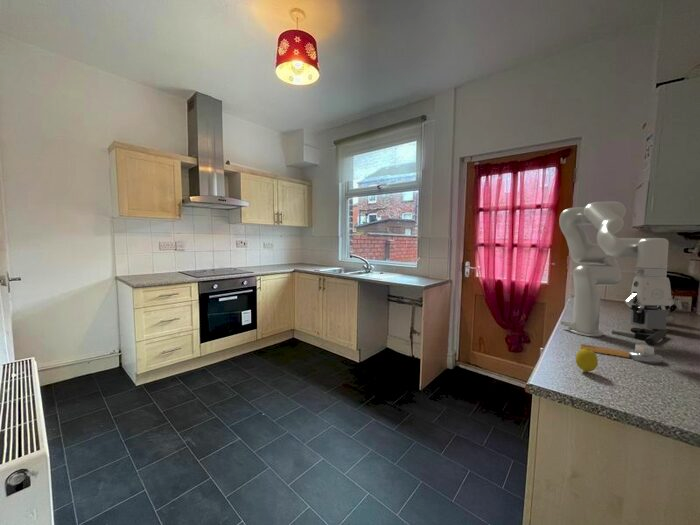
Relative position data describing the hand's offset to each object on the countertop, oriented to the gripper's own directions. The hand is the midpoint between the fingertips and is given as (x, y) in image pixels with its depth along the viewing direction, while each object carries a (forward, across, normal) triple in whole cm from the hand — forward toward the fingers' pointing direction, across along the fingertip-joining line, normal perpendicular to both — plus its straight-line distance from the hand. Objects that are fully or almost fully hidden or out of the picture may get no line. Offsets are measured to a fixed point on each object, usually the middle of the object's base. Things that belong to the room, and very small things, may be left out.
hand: (647, 322), depth 105 cm
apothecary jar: (+13, +40, +39) cm, 57 cm away
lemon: (+14, -29, -11) cm, 34 cm away
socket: (+1, 0, 0) cm, 1 cm away
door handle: (+14, +21, +26) cm, 36 cm away
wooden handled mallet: (+13, -6, +4) cm, 15 cm away
